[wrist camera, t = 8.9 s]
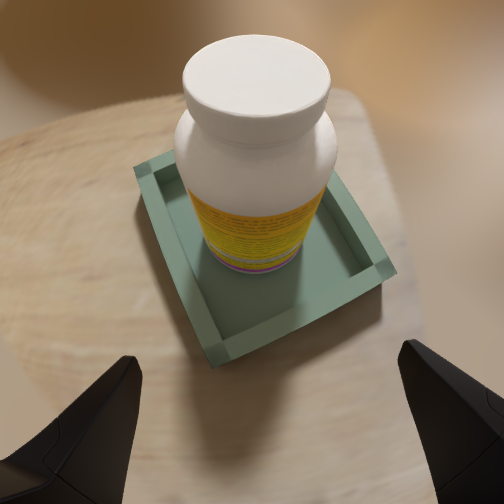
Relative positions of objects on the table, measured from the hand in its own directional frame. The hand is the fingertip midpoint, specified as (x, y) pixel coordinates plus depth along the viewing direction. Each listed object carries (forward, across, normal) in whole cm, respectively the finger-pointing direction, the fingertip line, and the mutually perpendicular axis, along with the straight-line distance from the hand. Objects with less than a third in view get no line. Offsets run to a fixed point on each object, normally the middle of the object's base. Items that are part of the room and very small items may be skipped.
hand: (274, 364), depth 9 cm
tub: (+13, 0, +1) cm, 13 cm away
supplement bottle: (+12, 0, 0) cm, 12 cm away
